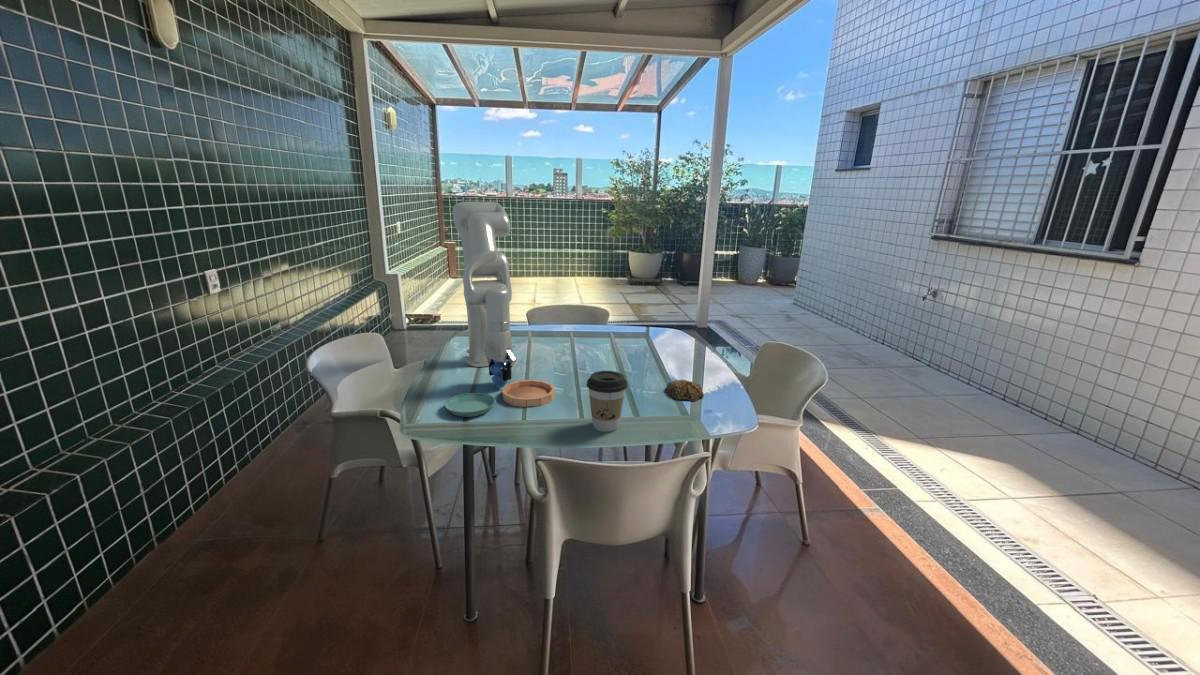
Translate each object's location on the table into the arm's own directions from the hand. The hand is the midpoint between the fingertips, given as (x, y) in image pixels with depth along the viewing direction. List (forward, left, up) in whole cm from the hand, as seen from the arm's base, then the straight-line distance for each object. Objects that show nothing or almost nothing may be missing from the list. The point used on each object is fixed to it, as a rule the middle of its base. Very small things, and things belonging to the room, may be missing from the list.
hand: (500, 376), depth 163 cm
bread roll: (+48, +39, -4) cm, 62 cm away
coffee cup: (+46, +3, -4) cm, 46 cm away
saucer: (+9, -18, -4) cm, 20 cm away
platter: (+14, +1, -3) cm, 14 cm away
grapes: (0, 0, -4) cm, 4 cm away
